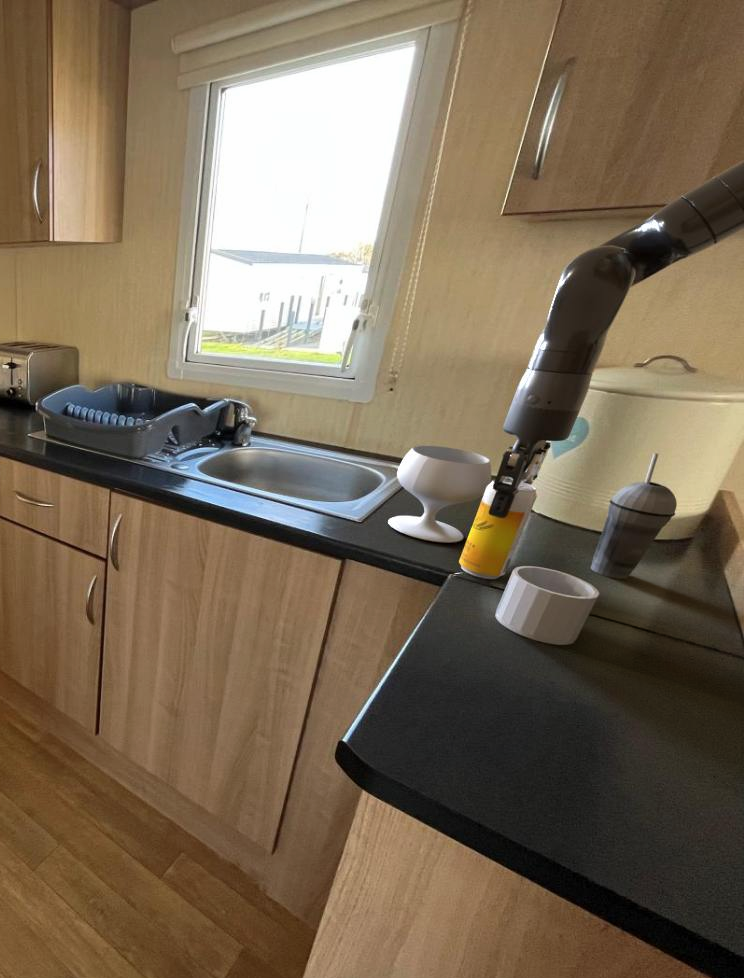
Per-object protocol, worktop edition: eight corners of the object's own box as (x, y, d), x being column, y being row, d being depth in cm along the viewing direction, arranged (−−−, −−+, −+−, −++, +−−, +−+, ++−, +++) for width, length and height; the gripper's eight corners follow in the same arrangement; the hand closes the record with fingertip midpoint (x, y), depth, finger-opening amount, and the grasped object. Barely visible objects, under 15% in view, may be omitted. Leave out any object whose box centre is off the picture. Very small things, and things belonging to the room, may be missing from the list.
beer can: (461, 559, 93) (493, 475, 87) (506, 572, 89) (542, 485, 83) (453, 570, 89) (485, 483, 83) (499, 584, 85) (537, 494, 79)
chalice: (431, 550, 96) (460, 468, 90) (365, 520, 108) (386, 446, 102) (487, 541, 100) (518, 463, 94) (417, 513, 112) (440, 442, 106)
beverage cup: (637, 588, 86) (703, 465, 78) (576, 570, 91) (631, 453, 83) (641, 574, 90) (703, 456, 82) (582, 558, 95) (635, 446, 87)
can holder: (582, 630, 74) (605, 585, 71) (567, 653, 69) (591, 605, 66) (505, 602, 80) (523, 560, 77) (486, 622, 75) (505, 577, 73)
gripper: (568, 413, 72) (520, 530, 78) (592, 402, 80) (546, 509, 86) (498, 403, 77) (459, 513, 84) (527, 394, 85) (489, 495, 92)
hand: (503, 511), depth 85 cm, fingers closed on beer can, 6 cm apart
